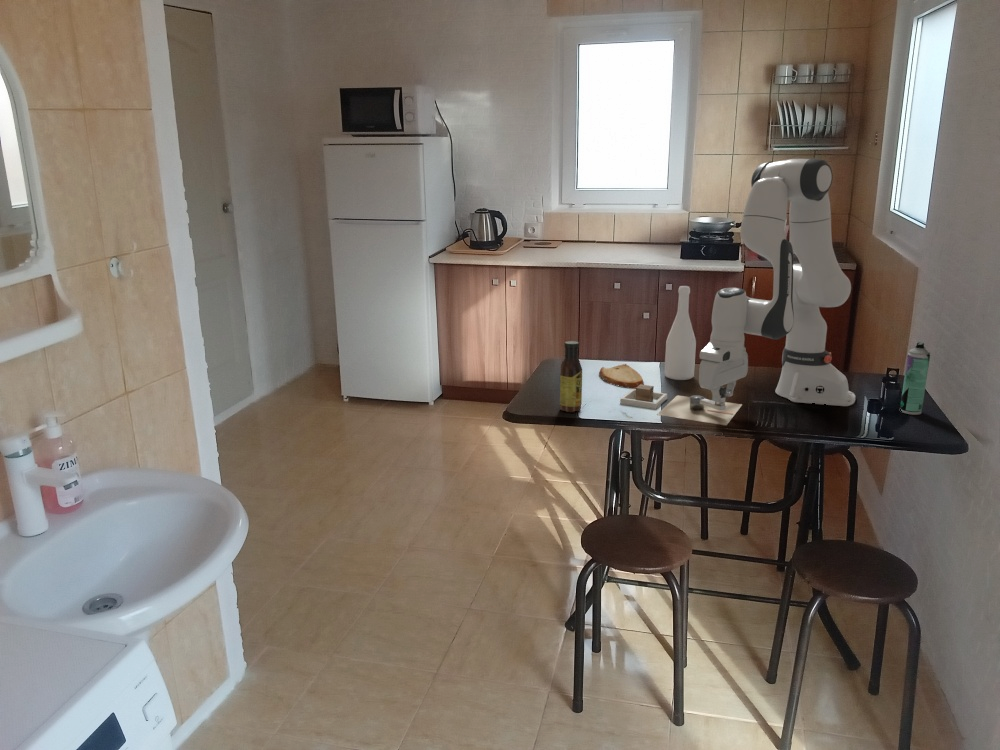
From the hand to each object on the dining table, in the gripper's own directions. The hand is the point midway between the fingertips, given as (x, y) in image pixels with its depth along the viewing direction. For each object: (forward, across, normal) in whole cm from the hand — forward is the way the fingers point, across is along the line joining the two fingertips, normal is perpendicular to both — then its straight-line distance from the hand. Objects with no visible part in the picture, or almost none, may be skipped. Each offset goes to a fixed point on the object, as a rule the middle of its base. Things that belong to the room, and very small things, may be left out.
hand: (722, 398), depth 208 cm
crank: (+5, 0, -4) cm, 6 cm away
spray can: (+6, -44, +35) cm, 56 cm away
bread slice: (+7, -15, -44) cm, 47 cm away
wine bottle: (+6, -30, -32) cm, 44 cm away
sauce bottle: (+7, +21, -36) cm, 42 cm away
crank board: (+6, -1, -7) cm, 9 cm away
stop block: (+6, +4, -23) cm, 24 cm away
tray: (+6, +4, -23) cm, 24 cm away
